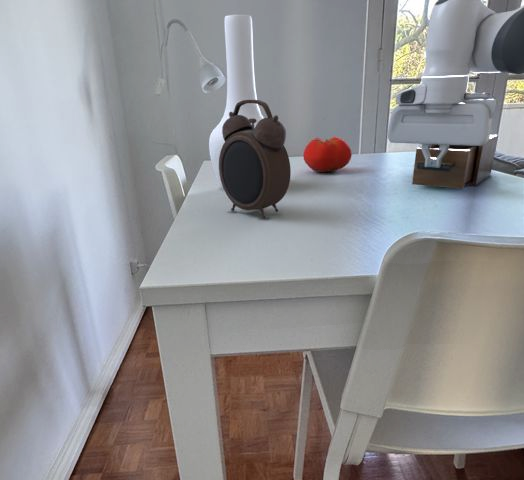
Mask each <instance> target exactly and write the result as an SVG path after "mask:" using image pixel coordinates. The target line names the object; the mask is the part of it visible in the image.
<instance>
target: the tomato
mask: <svg viewBox="0 0 524 480" xmlns="http://www.w3.org/2000/svg"><path fill="white" fill-rule="evenodd" d="M302 156H303V160H304V163H305V165H307V167H308V168H309V169H311V170H312V171H315V172H320V173H327V172H329V171H330V172H332V171H333V172H336V171H338V170H342V169H343V168H345V167H346V166H347V165H349V163H350V162H351V159H352V156H353V154H352V150H351V147H350V146H349V144H348V143H347V142H346V141H345V140H344V139H343V138H341V137H336V136H333V137H330V138H329V139H325V140H324V139H322V138H320V137H317V138H313V139H311V140H310V142H308V144H307V145H306V146H305V148H304V150H303V155H302Z"/></svg>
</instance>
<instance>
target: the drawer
mask: <svg viewBox="0 0 524 480" xmlns="http://www.w3.org/2000/svg"><path fill="white" fill-rule="evenodd" d="M439 146H440V145H439V144H434V145H431V149H429V152H430V155H431V158H437V157H438V156H439V154H440V153H441V151H442V150H439ZM478 150H479V146H465V145H449V150H448V151H447V153H446V154H445V155H444V157H443V158H442V161H441V166H440V167H439V168H432V167H425V159H426V158H425V157H424V155H423V152H422V150H421V148H419V147H417V148H415V157H414V165H413V173H412V182H411V185H414V186H424V187H425V186H426V187H437V188H448V189H459V190H462V189H464V188H465V185H464V184H465V183H467V182H468V181H470V180H472V179H473V177H474V172H475V166H476V161H477V156H478Z"/></svg>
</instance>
